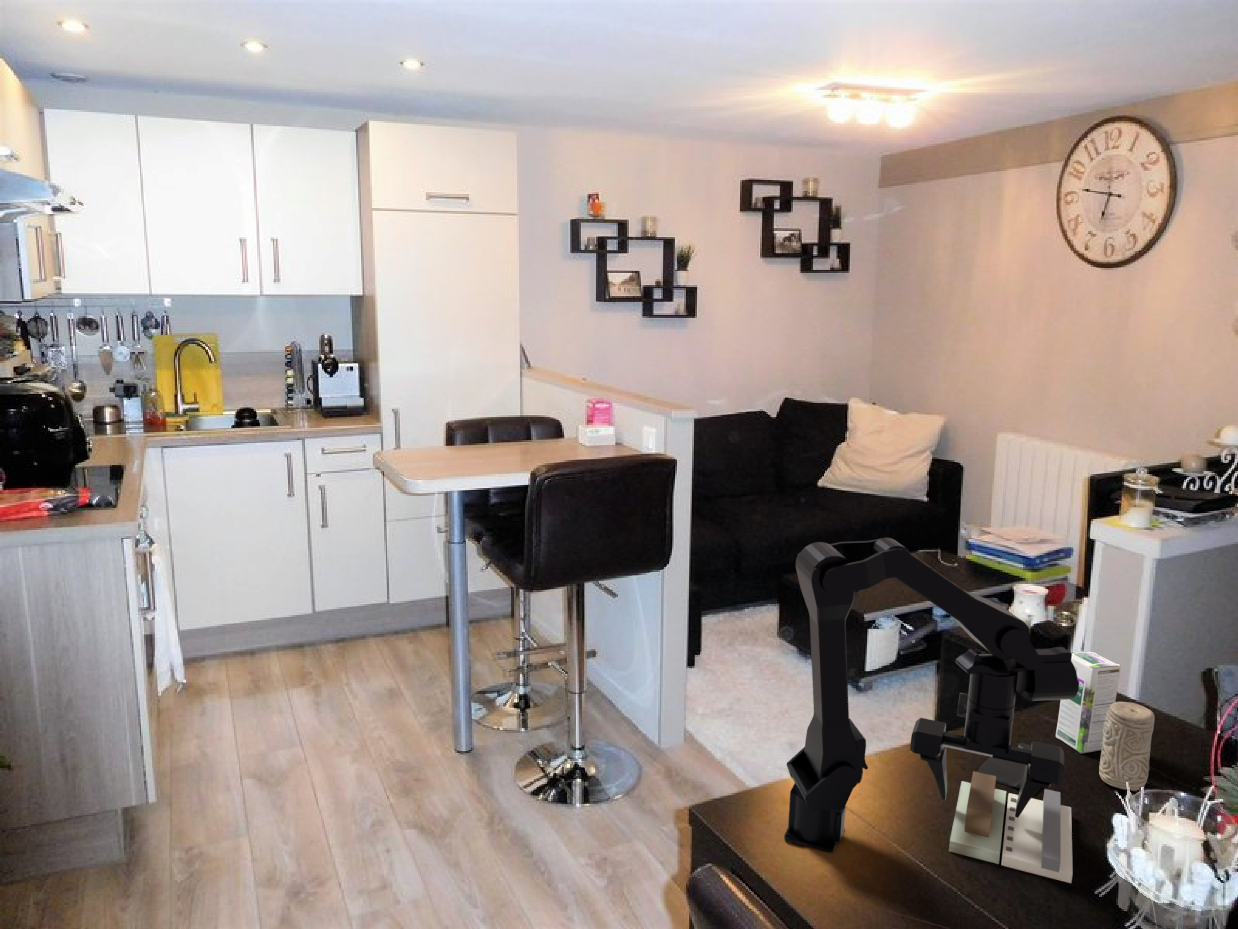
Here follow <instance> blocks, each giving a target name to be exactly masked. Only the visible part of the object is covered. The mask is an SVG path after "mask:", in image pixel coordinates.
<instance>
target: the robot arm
mask: <svg viewBox="0 0 1238 929" xmlns="http://www.w3.org/2000/svg"><path fill="white" fill-rule="evenodd" d="M795 569H796V574H797V578H798V584H799V586H800V590H801V593H802V596H803V600H804V602H805V605H806V608H807V610H808V615H809V626H810V627H809V630H810V631H809V632H810V633H809V634H810V649H811V650H810V652H811V653H810V654H811V675H812V676H811V677H812V699H813V700H812V701H813V716H812V717H811V720H810V723H809V724H808V726H807V728H806V729H807V730H806V736H805V743H804V747H803V748H802V749H800V751H798V752H797V753H796V754H795V755H794V756H792V757H791V759H789V761H787V762H786V768H787V770H788V774H789V776H790V778H792V780H793V782H794V783H793V785H792V787H791V789H790V792H789V804H788V805H789V806H788V821H787V822H788V824H787V826H788V827H787V829H786V830H785V832H784V835H783V839H784V841H786V842H789V843H794V844H795V845H800V846H804V847H807V848H811V849H814V850H818V851H821V852H826V853H829V854H831V853H834V850H836V849H835V848H836V846H837V843H840V842H841V840H842V838H843V836H844V832H845V821H846V807H847V806H846V805H847V803H848V801H849V799H850V796H851V795H852V792H853V790H854V789H855V787H856V786H857V785H858V784H861V781H862V779H863V775H864V770H868V769H869V766H868V765H867V763H866V751H867V741H866V738H865V736H864V735H863V734H862V733H861V732H860V730H859V728H858V727H857V726H856V724H855V723H854V722H853V720H852V719H851V718H850V711H849V710H850V709H849V686H848V657H847V656H848V655H847V651H848V650H847V627H846V625H847V624H846V622H847V617H848V616H849V612H850V611H851V609H852V607H853V604H854V601H855V594H856V592H858V591H864V590H867V589H871V588H872V587H874V586H876V585H878V584H880V583H883V581H885V580H888V579H889V580H890V579H892V578H895V579H896V580H898V581H899V582H901V583H902V584H904V585H905V586H907V587H908V588H909V589H911V590H912V591H914V592H916V593H917V594H919V595H920V596H922V597H923V598H924V599H926V600H927V601H928V602H930V603H932V604H934V605H935V606H936V607H937V608H939V609H941V611H944V612H945V613H946V614H947V615H949V616H950V617H951V618H953V620H954V621H955V622H956V623H957V625H959V627H961V629H962V630H963V631H964V632H965V633H967V635H968V636H969V637H970V638H972V639H973V640H974V641H975V642H976V643H978V644H979V645H980V646H981V647H982V648H984V649H985V650H986V651H987V652H988V653H985V654H983V653H982V654H978V653H977V652H976V651H975V650H973V649H972V648H969V649H967V651H966V652H965V653H963V654H960V655H959V656H958V657H957V658H956V659H955V663H956V665H958V666H959V668H961V669H962V670H963V671H965V672H966V674H969V685H968V693H965V692H964V693H963V692H959V697H958V703H957V712H956V715H957V716H956V717H961V718H965V724H964V734H963V735H960V734H955V733H950V732H947V731H946V730H947V729H946V728H947V722H943V721H938V720H935V719H934V720H933V719H931V718H930V719H928V718H924V717H919V718H918V719H917V720H915V723H914V726H913V729H912V732H911V737H910V751H911V752H912V753H914V754H917V755H919V759H920V760H921V761H924V762H926V763H927V765H928V766H929V769H930V771H931V772H932V774H933V777H934V779H935V782H936V785H937V788H938V791H939V794H940V797H941V800H943V801H946V799H947V792H948V771H947V749H952V750H957V751H962V752H966V753H970V754H974V755H979V756H985V757H988V758H990V757H993V758H997V759H1002V760H1006V761H1011V762H1016V763H1020V764H1025V765H1026V768H1025V773H1024V777H1023V781H1022V784H1021V788H1020V789H1019V793H1018V794H1017V795H1018V799H1017V803H1016V812H1015V817H1017V818H1018V817H1019V816H1020V814H1021V813H1022V811H1023V810H1024V808H1025V807H1026V805H1027V803H1028V802H1029V800H1030V799H1031V798H1032V799H1033V797H1034V796H1035V795H1036V794H1037V792H1038V791H1040V789H1042V788H1044V789H1049V788H1050V787H1051V785H1063V781H1064V772H1065V771H1064V770H1065V751H1064V749H1062V747H1061V746H1059V745H1055V744H1050V743H1045V742H1041V741H1036V740H1032V741H1031V745H1030V746H1031V750H1027V749H1023V748H1018V746H1013V745H1011V741H1012V736H1013V724H1014V713H1015V705H1016V704H1015V703H1016V695H1017V693H1018V694H1020V695H1021V697H1022V698H1023V699H1024V700H1026V701H1028V702H1029V701H1030V702H1031V701H1032V702H1036V701H1039V702H1040V701H1061V700H1066V699H1073V698H1074V697H1075V696H1076V695H1077V692H1078V689H1079V681H1078V679H1077V673H1076V670H1075V667H1074V665H1073V663H1072V662H1071V658H1072V654H1073V653H1072V652H1070V651H1069V650H1068V649H1066V648H1065V647H1064V646H1059V647H1058V646H1055V647H1051V648H1035V646H1033V644H1032V642H1031V641H1030V639H1031V628H1030V627H1029V625H1028V624H1027V623H1026V622H1025V621H1023V620H1022V619H1020V618H1019V617H1018V616H1016V615H1015V614H1013V613H1012V612H1011V611H1009V610H1007V609H1006V608H1005V607H1003V606H1002V605H1001V604H998V603H996V602H994V601H991V600H989V599H987V598H985V597H982V596H980V595H977V594H974V593H972V592H971V593H970V592H968V591H966V590H964V589H963V588H961V587H960V586H958V585H957V584H955V583H954V582H953V581H951V580H949V579H948V578H946V577H945V576H944V575H942V574H941V573H940V572H938V571H937V570H935V569H933V567H931V566H929V565H928V564H927V563H925V562H923V561H922V560H920V559H919V558H918V557H916V556H915V555H913V554H912V553H911V552H910V550H909V549H907V548H906V547H905V546H904V545H902V544H901V543H899V542H898V541H897V540H895V539H893V538H891V537H883V538H882V537H881V538H878V539H873V540H864V541H863V540H860V541H859V540H856V541H840V542H835V543H834V542H833V543H830V544H829V543H826V542H822V541H816V542H813V543H810V544H808V545H807V546H805V547H803V549H802V550H801V551H799V552H798V554H797V556H796V560H795Z"/></svg>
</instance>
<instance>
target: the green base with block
mask: <svg viewBox="0 0 1238 929" xmlns="http://www.w3.org/2000/svg"><path fill="white" fill-rule="evenodd" d="M960 782H961V783H960V787H959V792H958V798H957V804H956V808H955V812H954V813H955V814H954V817H953V818H954V819H953V823H952V828H951V832H950V837H949V847H948V852H949V853H955V854H958V855H961V856H967V857H970V858H974V859H977V860H981V861H985V862H989V863H994V864H997V865H999V864H1000V857H1001V856H1000V854H1001V846H1002V837H1003V835H1002V834H1003V826H1004V818H1005V809H1006V798H1007V790H1002V789H998V788H996V783H997V782H996V776H992V775H988V774H983V773H979V772H978V771H974V770H973V771H972V775H971V781H970V782H968V781H963V780H962V781H960Z"/></svg>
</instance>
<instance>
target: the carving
mask: <svg viewBox="0 0 1238 929" xmlns="http://www.w3.org/2000/svg"><path fill="white" fill-rule="evenodd" d="M1154 727H1155V713H1154V712H1153V711H1152V710H1151V709H1149V708H1146V707H1145V706H1143V705H1141V704H1138V703H1136V702H1127V701H1115V703H1113V704H1111V706H1110V707H1109V708H1108V711H1107V712H1106V718H1105V722H1104V727H1103V741H1102V744H1103V746H1102V750H1100V751H1101V752H1100V759H1099V760H1100V761H1099V767H1098V768H1099V771H1098V773H1099V777H1100V778H1101V780H1102V781H1103V782H1104V783H1105V784H1108V785H1109V786H1112V787H1115V788H1118V789H1121V790H1125V791H1127V790H1126V782H1129V786H1130V789H1131V792H1132V791H1133V792H1138V791H1137V790H1139V788H1140V787H1144V788H1145V785H1146V784H1147V782H1148V778H1149V771H1150V757H1151V753H1150V752H1151V743H1152V737H1153V736H1152V735H1153V732H1154Z"/></svg>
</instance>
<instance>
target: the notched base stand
mask: <svg viewBox="0 0 1238 929" xmlns="http://www.w3.org/2000/svg"><path fill="white" fill-rule="evenodd" d="M1043 792H1044V793H1043V799H1042V800H1040V799H1036V798H1033V797H1032V798H1031V799H1030V800H1029V802H1028V803H1027V805H1026V807H1025V808H1024V810H1023V811H1022V813H1021V814H1020V816H1019V817H1018V818H1017V817H1015V812H1016V803H1017V799H1018V795H1019V794H1015V793H1010V792H1009V793H1008V794H1007V804H1006V805H1007V806H1006V816H1005V825H1004V832H1003V833H1004V836H1003V843H1002V854H1001V866H1003V867H1007V868H1011V869H1014V870H1018V871H1023V872H1025V873H1030V874H1035V875H1038V876H1042V877H1045V878H1049V879H1052V880H1058V881H1061V882H1065V883H1069V884H1072V881H1073V872H1074V871H1073V839H1072V838H1073V836H1072V835H1073V832H1072V827H1073V826H1072V806H1071V807H1070V806H1066V805H1063V804H1061V792H1060V791H1055V790H1051V789H1048V788H1044V790H1043Z"/></svg>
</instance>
